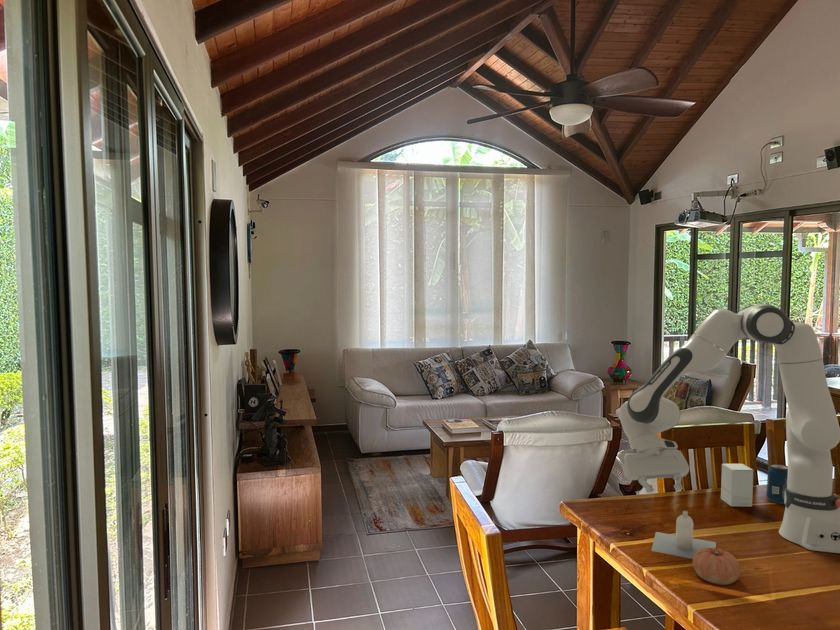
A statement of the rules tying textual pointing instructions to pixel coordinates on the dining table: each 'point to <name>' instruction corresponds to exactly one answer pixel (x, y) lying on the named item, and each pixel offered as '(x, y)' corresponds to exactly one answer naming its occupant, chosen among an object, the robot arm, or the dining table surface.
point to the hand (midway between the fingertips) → (665, 490)
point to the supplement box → (737, 485)
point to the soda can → (777, 482)
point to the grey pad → (668, 546)
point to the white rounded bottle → (684, 532)
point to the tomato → (716, 566)
